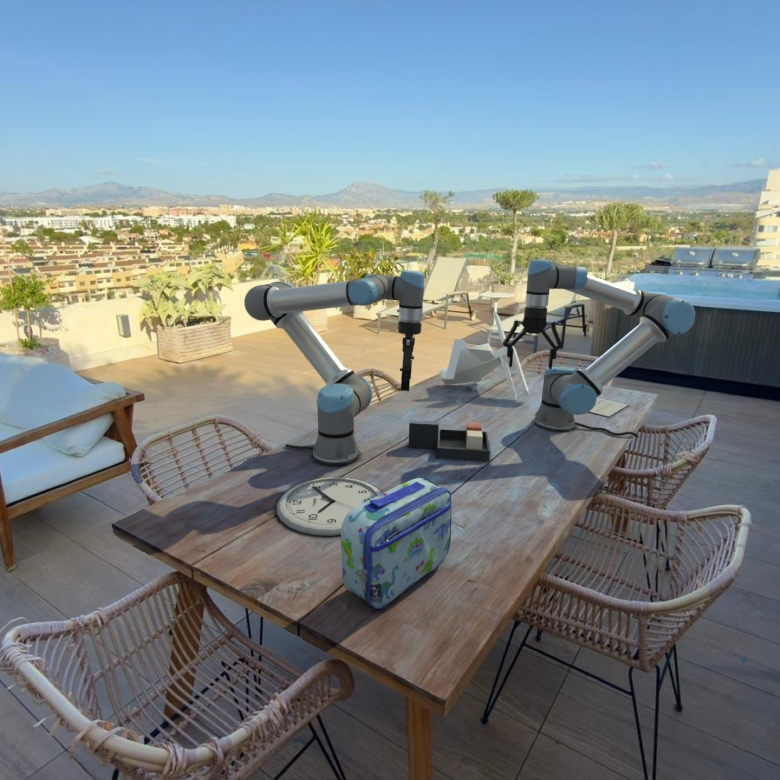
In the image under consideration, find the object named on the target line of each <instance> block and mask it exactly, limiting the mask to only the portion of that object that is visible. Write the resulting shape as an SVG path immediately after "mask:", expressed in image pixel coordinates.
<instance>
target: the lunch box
mask: <svg viewBox="0 0 780 780" xmlns="http://www.w3.org/2000/svg"><path fill="white" fill-rule="evenodd" d="M451 539H452V494H451V491H450V490H449V488H446V487H439V486H437V485H435V484H434V483H432V482H430V481H428V480H426V479H424V478H421V477H416V478H413V479H410V480H408V481H405V482H403V483H402V484H398V485H397V486H395V487H392V488H390V489H389V490H386V491H384V492H382V494H380V495H378V496H376V497H374V498H372V499H370V500H368V501H366V502H364V503H362V504H360V505H358V506H356V507H354V508H353V509H351V510H350V511H349V512H348V514H347V515H346V517H345V518H344V520H343V523H342V528H341V535H340V546H341V569H342V570H341V571H342V582H343V585H344V588H345V589H346V590H347V591H349V592H351V593H353V594H355V595H356V596H358V597H359V598H361V599H362V600H364V601H365V602H366V603H367V605H368V606H370V607H372V608H374V609H378V610H379V609H380V610H381V609H383V608H384V607H387V605H389V604H390V603H391V602H392V601H393V600H395V599H396V598H397V597H399V596H400V595H402V594H403V593H404V592H405V591H407V590H408V589H409V588H411V587H412V586H413V585H415V584H416V583H418V581H419V580H420V579H421V578H423V577H425V576H427V575H428V574H429V573H431V572H432V571H434V570H435V569H437V568H438V567H439V566H441V564H442V563H443V562H444V561H445V559H446V557H447V556H448V554H449V550H450V547H451V541H452V540H451Z"/></svg>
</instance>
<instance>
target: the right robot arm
mask: <svg viewBox="0 0 780 780" xmlns="http://www.w3.org/2000/svg"><path fill="white" fill-rule="evenodd" d="M527 269H528V270H527V279H526V291H525V300H524V305H525V307H524V310H523V319H522V320H518V319H517V318H515V319H514V320H513V324H512V326H511V328H510V329H509V331H508V333H507V335H505V337H506V338H505V339H504V341H503V343H502V342H501V345H502V344H503V345H502V347H503V346H504V347H507V357H510V359H509V360H508V367H509V368H512V367H513V361H514V360H513V346H514V347H515V345H516V344H517V343H518V342H519V341H520V340H521V339H522V338H523V337H524V336H526V335H527V334H529V335H540V334H542V336H543V337H544V339H545V340H546V341H547V343H548V344H549V345H550V346H551V348H550V349H549V357H548V366H547V367H546V368H545V370H544V373H543V381H542V382H543V383H542V394H541V402H540V405H539V407H538V410H537V411H536V413H535V414H534V416H535V417H534V424H535V425H536V426H537V427H539V428H542V429H544V430H549V431H556V432H567V431H572V430H574V429H575V428H576V426H579V427H582V428H585V429H587V430H592V431H602V432H606V433H608V434H609V435H612V436H616V437H617V436H618V437H619V436H625V435H626V436H627V435H632V436H634V437H635V438H640V436H639V435H638V434H637V433H635V432H633V431H624V432H613V431H612V430H610V429H607V428H606V427H605V428H604V427H597V426H596V427H594V426H590V425H587V424H584V423H580V422H577V421H576V418H575V417H576V416H580V415H581V416H582V415H584V414H587V413H590V412H589V411H590V410H591V409H592V408H593V407H594V406H595V404H596V400H597V398H599V397H600V396H601V395H602V394H603V387H605V386H606V385H607V384H608V383H609V382H611V381H612V380H613V379H615V377H617V376H618V375H619V374H620V373H622V372H623V371H624V370H626V368H628V367H629V366H630V365H631V364H632V363H634V362H635V361H636V360H637V359H638V358H640V357H641V356H642V355H644V354H645V353H646V352H647V351H649V349H651V348H652V347H653V346H654V345H656V344H657V343H665V342H666V341H668V340H669V339H670V338H671V337H672V336H679V335H684V334H686V333H687V332H688V331H689V330H690V329H691V328H692V326H693V325H694V324H695V319H696V318H695V317H696V311H695V308H694V306H693V305H692V303H691V302H690V301H688V300H686V299H683V298H681V297H674V296H669V295H666V294H661V293H653V292H648V291H643V290H640V289H638V288H635V289H633V290H632V289H630V288H626V287H624V286H620V285H618V284H616V283H612V282H609V281H607V280H604V279H601V278H598V277H596V276H593V275H590V274H588V269H587V268H586V267H585V266H578V265H576V266H575V265H573V266H572V265H565V264H560V263H556V262H553V260H551V259H532V260H530V261H529V263H528V268H527ZM550 290H565V291H567V292H571V293H574V294H576V295H578V296H579V295H580V296H582V297H585V298H587V299H590V300H593V301H596V302H599V303H602V304H604V305H606V306H607V305H608V306H610V307H612V308H614V309H615V308H616V309H619V310H621V311H623V313H624V315H627V316H629V317H632V318H634V319H636V320H638V321H639V323H638V325H636V326H635V327H634V328H632V330H631V331H629V332H628V333H627V334H626V335H624V336H623V337H622V338H620V340H618V341H617V342H616V343H615V344H614V345H612V347H610V348H609V349H607V350H606V351H605V352H604V353H603V354H602V355H600V356H599V357H598V358H597V359H595V361H593V362H592V363H591V364H590V365H589V366H587V367H586V368H578V369H576V368H575V367H570V366H553V360H556V359H557V355H558V354H557V352H558V350H562V349H563V348H564V345H563V343H562V341H561V337H560V336H559V333H558V330H557V325H556V324H557V323H556V321H554V320H551V321H547V316H548V308H547V307H548V306H549V298H550ZM521 325H522V327H523V328H522V329H521V330H520V331H519V332H518V333H517V334H516V335H515V336H514V334H515V332H516V331H517V329H518V328H519V327H520V326H521ZM547 326H548V328H550V329H551V333H552V335H553V337H554V339H555V341H556V344H555V343H554V342H553V340H552V339H551V337H550V336H549V335H548V333H547V332H546V330H545V329H546V328H547ZM513 336H514V338H512V337H513ZM511 339H512V340H511Z"/></svg>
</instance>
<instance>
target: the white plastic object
mask: <svg viewBox="0 0 780 780" xmlns="http://www.w3.org/2000/svg"><path fill="white" fill-rule="evenodd" d="M492 315H493V319H494V321H495V324H496V325H495V326H496V328H497V332H498V335H499V338H500V342H501V345H502V347H500V348H498V349H496V350H495V349H493V348H492V347H491V346H490V344H489V343H488V342H487V343H483V344H479V345H473V346H469V345H468V343H466V342H465V340H464V339H463V338H460V339H458V338H454V340H453V344H452V349H451V353H450V357H449V362H448V366H446V367H444V368H442V369H440V370H439V371H438V372H439V376H440V381H442V383H443V384H444V385H445V386H449V385H458V384H467V383H468V384H469V383H473V384H477V383H480V382H482V381H484V378H485V377H486V376H487V375H489V374H490V373H492V372H494V371H495V370H496V369H497V368H499V367H500V366H502V370H503V373H504V376H505V380H506V383H507V386H508V390H509V393H510V394H511V395H512V397H513V398H514V399H515V400H517V392H516V391H517V390H516V388H515V385H514V381H513V378H512V375H511V371H510V369H509V368H510V367H509V364H508V362H509V359H510V357H507V347H504V346H503V344H502V343H503V341H504V339H505V338H506V334H505V331H504V328H503V325H502V321H501V318H500V315H499V314H498V312H497V311H496V310H495V311H492ZM512 361H513V363H514V366H515V369H516V372H517V376H518V380H519V382H520V385H521V389H522V391H523V393H524V395H525V396H526V397H528V396H531V395H530V390H529V388H528V387H529V386H528V384H527V381H526V378H525V375H524V371H523V369H522V368H523V367H522V366H521V362H520V359H519V355H518V352H517V349H516V347H515V345H514V346H513V360H512Z"/></svg>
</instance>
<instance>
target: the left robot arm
mask: <svg viewBox="0 0 780 780" xmlns="http://www.w3.org/2000/svg"><path fill="white" fill-rule="evenodd" d="M425 286H426V285H425V273H424V272H423V271H419V270H409V269H406V270H401V272H400V274H399V275H398V276H396V275H386V274H378V273H368V274H366V275H365V276H364V277H363V278H357V279H351V280H343V281H335V282H327V283H319V284H313V285H304V286H297V287H295V286H294V285H292V284H291V283H289V282H286V281H274V282H270V283H265V284H259V285H255V286H253V287H251V288H250V289H249V290H248V291H247V292H246V294H245V296H244V300H243V302H244V303H243V304H244V308H245V309H244V310H245V311H246V313H247V314H248V315H249V317H251V318H252V319H254V320H256V321H261V322H265V321H271V323H273V325H274V326H275V327H276V329H282V330H283V331H284V332H285V334H286V335H287V336H288V337H289V338H290V340H291V341H292V343H294V344H295V346H296V347H297V348H298V350H299V351H300V352H301V354H302V355H303V357H304V358H306V360H307V361H308V362H309V364H310V365H311V366H312V367H313V369H314V370H315V371H316V373H317V374H318V375H319V376H320V377H321V379H322V381H324V383H325V385H324V386H323V387H321V388H320V389H319V390H318V392H317V397H316V398H317V399H316V406H317V407H316V408H317V409H316V410H317V438H316V440H315V444H314V446H308V445H307V446H305V445H293V444H287V443H286V444H285V448H290V449H297V450H312V457H313V460H315V462H317V463H319V464H322V465H326V466H344V465H349V464H352V463H354V462H356V461H357V460H359V458H360V447H359V445H358V442H357V439H356V435H355V417H357V416H358V415H359V414H360V413H362V412H363V411H364V410H366V409H367V408H368V407H369V405H370V404H371V402H372V400H373V394H374V392H373V388H372V385H371V383H370V382H369V381H368V380H367V379H366V378H365V377H363V376H359V375H357V373H355V371H354V370H353V369H351V368H347V367H345V366H344V364H343V363H342V361H341V360H340V359H339V358H338V357H337V355H336V354H335V352H334V351H333V350H332V349H331V347H330V346H329V345H328V344H327V342H326V341H325V340H324V339H323V338H322V336H321V335H320V334H319V332H318V331H317V330H316V328H315V327H314V326H313V324H312V323H311V322H310V321H309V320H308V318H307V317H306V315H305V314H304V312H310V311H318V310H326V309H336V308H344V307H352V306H353V307H354V306H360V307H365V306H370V305H372V304H374V303H377V302H379V301H382V300H385V301H386V300H389V301H398V308H397V309H396V313H398V321H397V332H398V333H399V334H400V335H401V334H402V335H404V337H402V340H401V341H402V343H401V344H402V349H401V350H402V353H403V354H402V365H401V366H402V367H401V368H399V372H401V377H400V379H401V381H400V382H401V383H400V391H401V392H404V391H405V392H410V385H411V380H412V370H413V369H412V365H413V360H415V356H414V355H413V353H414V348H415V343H416V338H415V337H414V335H415V336H417V335H420V334H421V333H422V325H423V324H422V320H423V312H424V308H423V307H424V296H425V295H424V294H425Z"/></svg>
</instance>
